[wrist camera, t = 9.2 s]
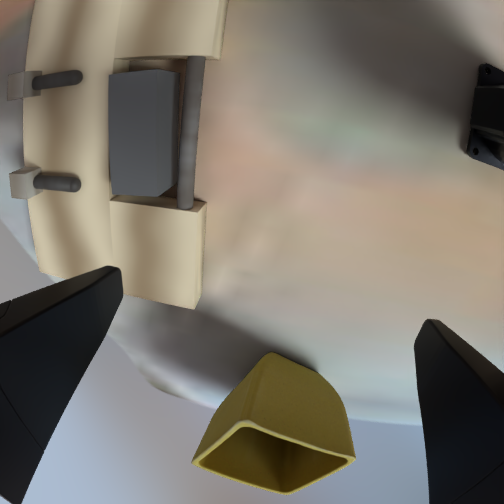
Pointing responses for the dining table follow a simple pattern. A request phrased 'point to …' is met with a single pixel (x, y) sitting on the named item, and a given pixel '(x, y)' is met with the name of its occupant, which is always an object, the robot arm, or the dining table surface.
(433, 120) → the dining table surface
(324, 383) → the flower pot
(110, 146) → the dark grey chamfered block
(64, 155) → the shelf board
